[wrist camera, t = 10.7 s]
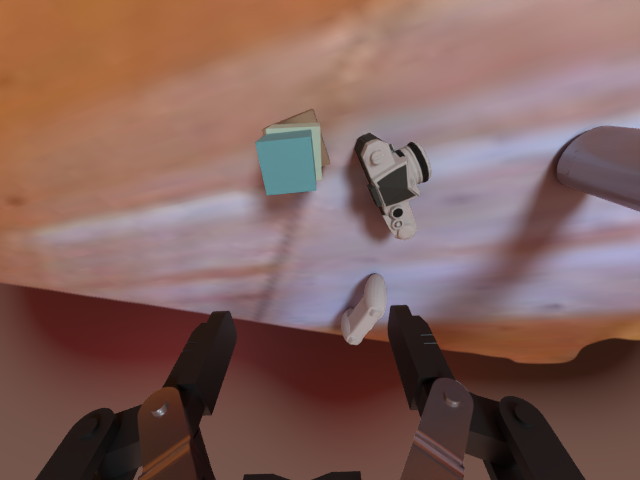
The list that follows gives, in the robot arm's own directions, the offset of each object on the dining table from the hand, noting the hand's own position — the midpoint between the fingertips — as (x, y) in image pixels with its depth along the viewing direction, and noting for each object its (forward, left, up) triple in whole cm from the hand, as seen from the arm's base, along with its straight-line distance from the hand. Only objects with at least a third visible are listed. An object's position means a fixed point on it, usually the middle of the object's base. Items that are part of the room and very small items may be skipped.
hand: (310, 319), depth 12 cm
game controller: (-8, +27, -31) cm, 42 cm away
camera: (-13, +2, -31) cm, 33 cm away
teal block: (+2, -4, -21) cm, 21 cm away
